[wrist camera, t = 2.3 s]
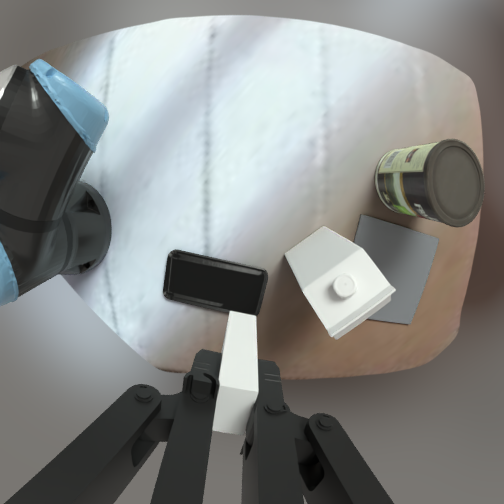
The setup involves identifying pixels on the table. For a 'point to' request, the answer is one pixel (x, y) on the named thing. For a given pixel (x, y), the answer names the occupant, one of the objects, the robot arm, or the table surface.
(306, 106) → the table surface
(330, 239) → the milk carton
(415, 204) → the coffee can
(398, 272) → the mat
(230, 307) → the phone
